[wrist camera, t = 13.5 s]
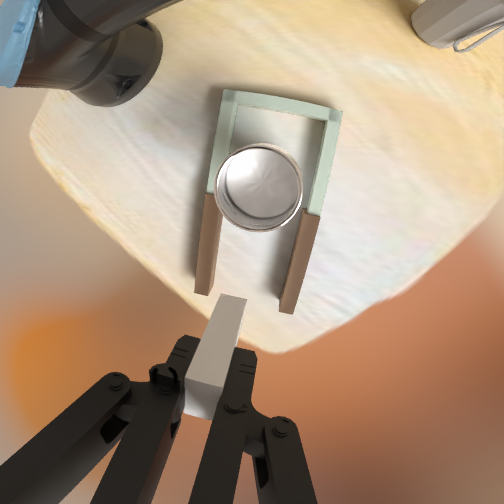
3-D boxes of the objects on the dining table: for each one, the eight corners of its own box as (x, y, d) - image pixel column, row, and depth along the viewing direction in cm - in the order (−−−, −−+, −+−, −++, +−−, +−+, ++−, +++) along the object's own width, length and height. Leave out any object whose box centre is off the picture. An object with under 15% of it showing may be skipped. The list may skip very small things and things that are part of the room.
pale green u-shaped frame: (211, 189, 35) (206, 192, 33) (228, 93, 30) (223, 89, 28) (317, 211, 34) (319, 216, 32) (338, 114, 29) (342, 111, 27)
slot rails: (200, 282, 40) (194, 292, 38) (211, 189, 35) (205, 193, 32) (292, 303, 40) (292, 314, 37) (317, 211, 34) (320, 217, 32)
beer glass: (271, 210, 35) (260, 253, 21) (231, 173, 34) (192, 192, 20) (309, 171, 33) (325, 189, 19) (268, 133, 32) (254, 122, 18)
